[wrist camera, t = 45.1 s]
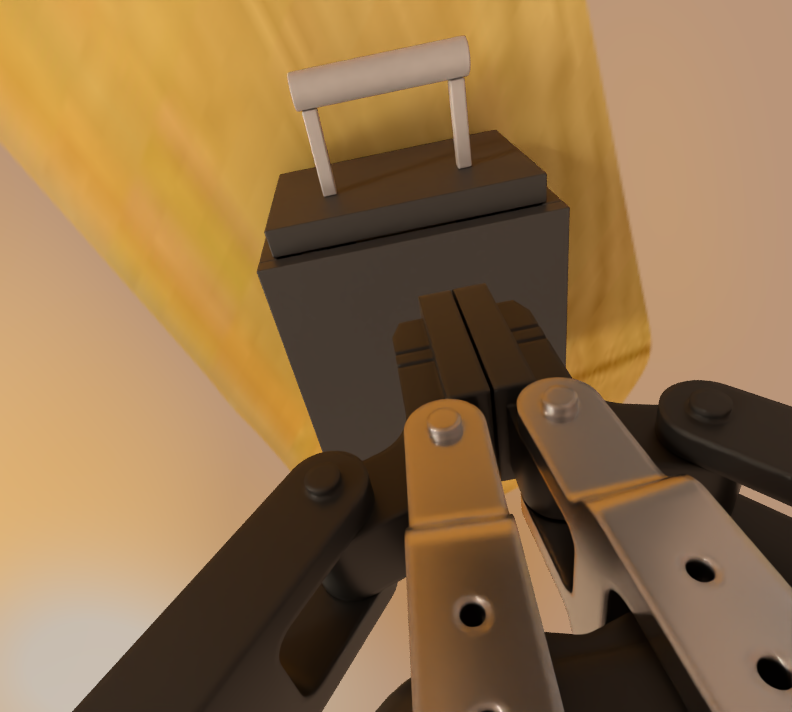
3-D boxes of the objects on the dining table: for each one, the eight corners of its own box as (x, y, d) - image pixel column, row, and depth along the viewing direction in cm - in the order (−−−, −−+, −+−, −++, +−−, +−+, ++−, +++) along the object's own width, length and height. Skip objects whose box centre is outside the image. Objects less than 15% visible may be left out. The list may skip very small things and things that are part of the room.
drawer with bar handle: (247, 68, 24) (218, 97, 18) (489, 17, 24) (547, 28, 18) (340, 375, 35) (342, 462, 29) (507, 342, 35) (547, 421, 28)
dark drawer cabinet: (276, 193, 28) (256, 271, 21) (503, 146, 28) (570, 207, 20) (338, 394, 37) (341, 504, 29) (514, 359, 37) (563, 459, 29)
